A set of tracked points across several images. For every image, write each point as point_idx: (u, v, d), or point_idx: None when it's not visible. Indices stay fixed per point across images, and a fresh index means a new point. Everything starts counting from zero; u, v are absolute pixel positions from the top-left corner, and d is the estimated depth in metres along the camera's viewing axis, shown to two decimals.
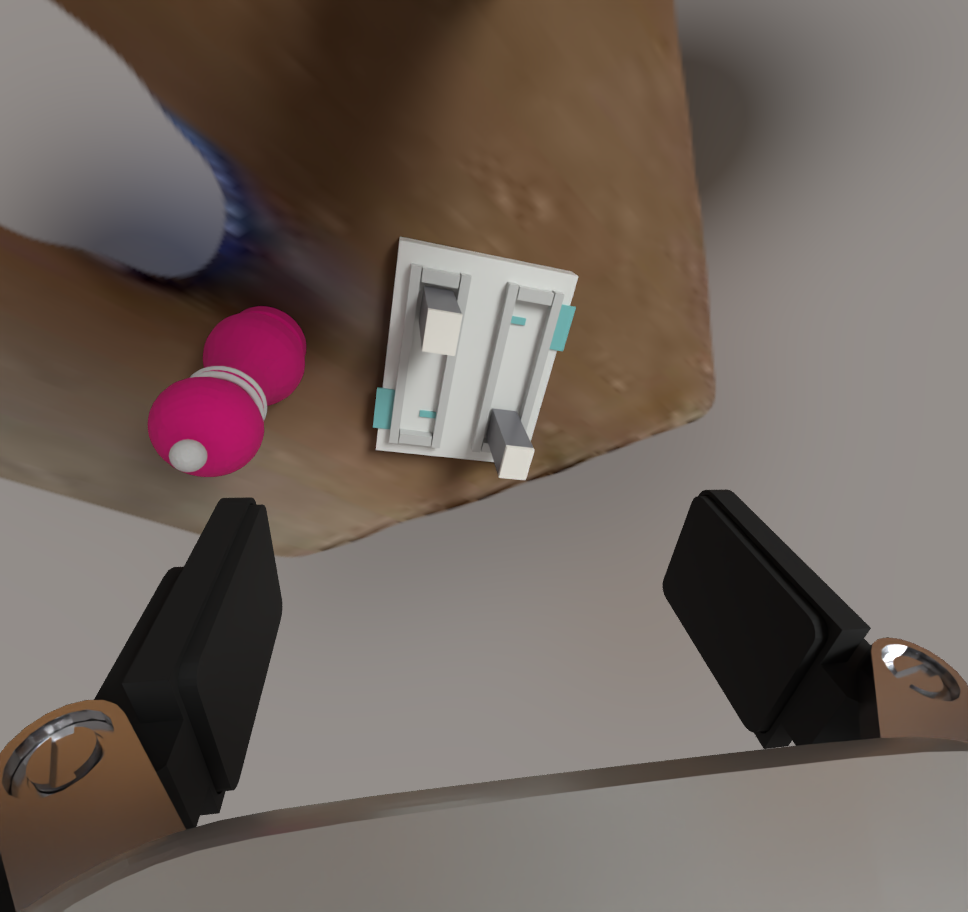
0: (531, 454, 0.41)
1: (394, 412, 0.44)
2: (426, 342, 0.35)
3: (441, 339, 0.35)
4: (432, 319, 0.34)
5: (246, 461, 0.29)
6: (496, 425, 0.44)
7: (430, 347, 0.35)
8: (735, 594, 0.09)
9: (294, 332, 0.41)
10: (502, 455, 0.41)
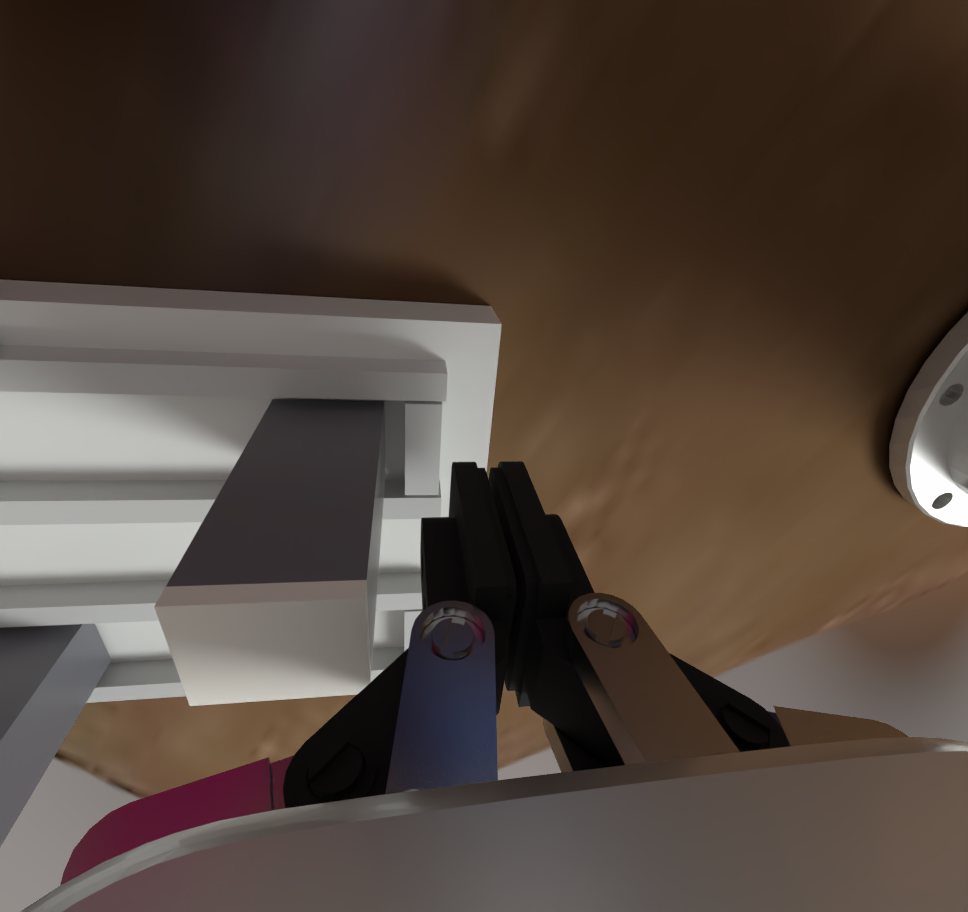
0: None
1: None
2: (206, 615, 0.07)
3: (245, 657, 0.08)
4: (324, 617, 0.08)
5: None
6: (21, 690, 0.14)
7: (189, 631, 0.07)
8: None
9: None
10: None
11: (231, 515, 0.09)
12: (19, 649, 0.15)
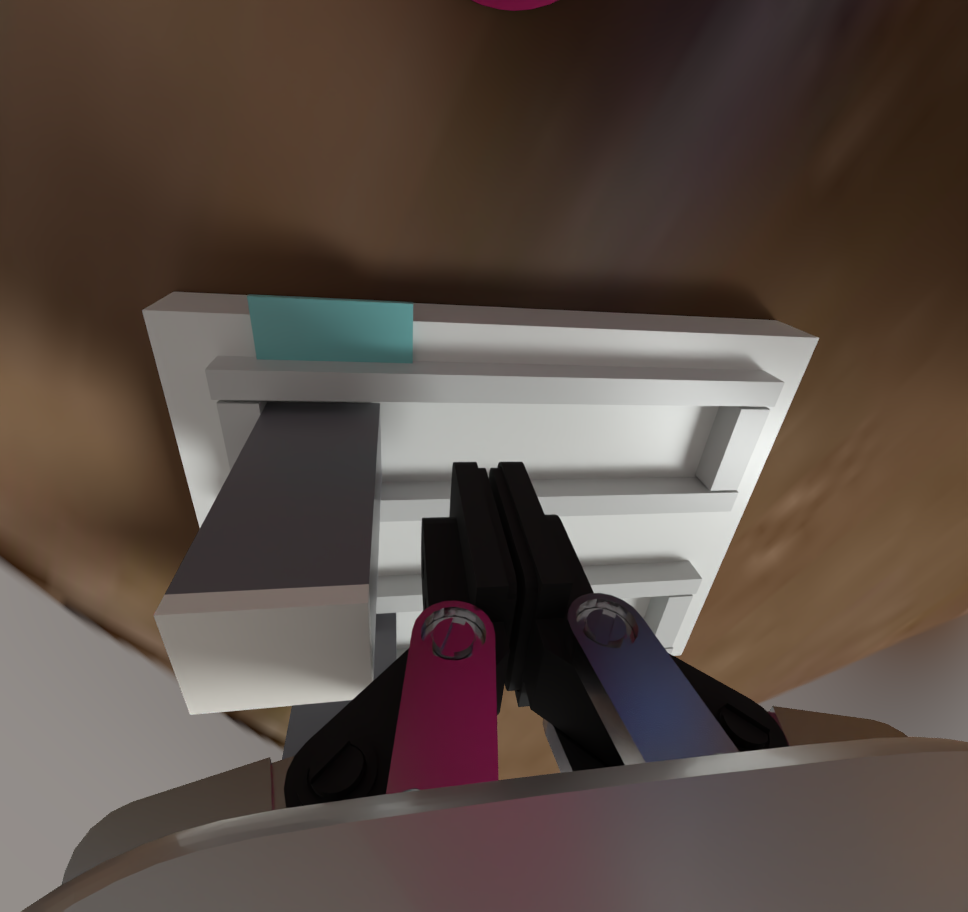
0: None
1: (342, 378, 0.12)
2: (207, 623, 0.07)
3: (246, 664, 0.08)
4: (327, 622, 0.08)
5: None
6: (383, 670, 0.15)
7: (190, 639, 0.07)
8: None
9: None
10: None
11: (229, 520, 0.09)
12: None
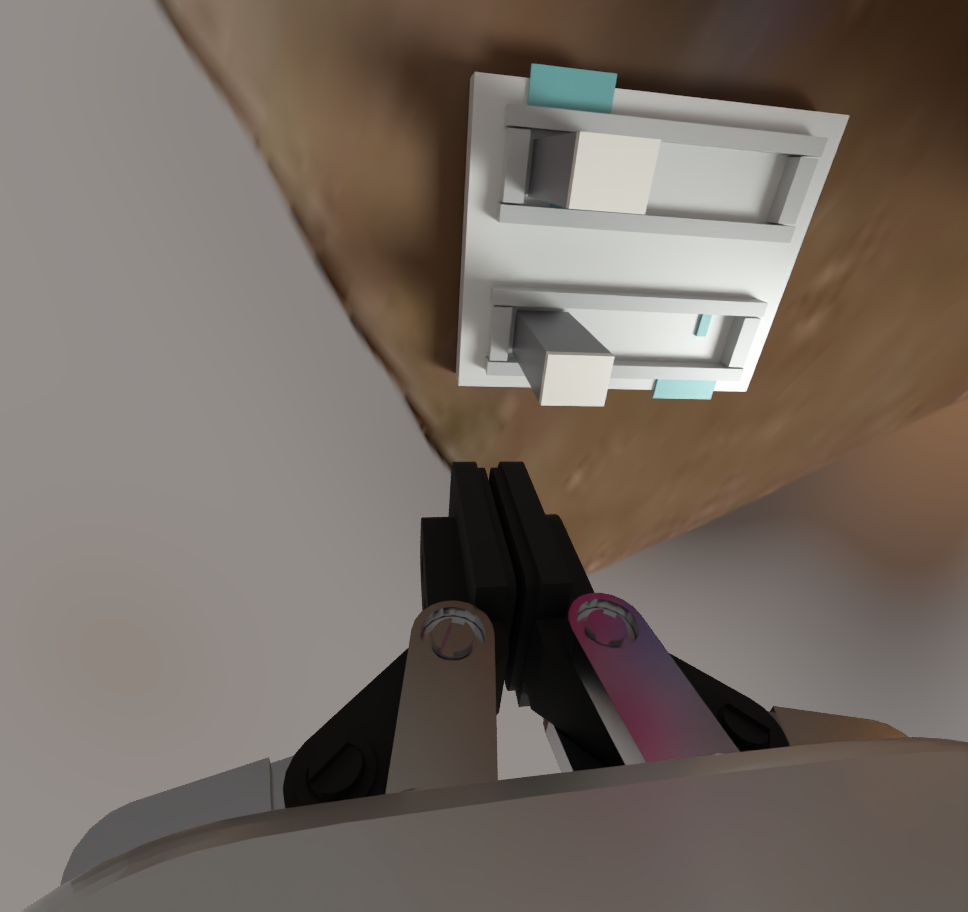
0: (596, 403, 0.22)
1: (578, 114, 0.22)
2: (597, 140, 0.17)
3: (602, 174, 0.18)
4: (641, 150, 0.17)
5: None
6: (575, 325, 0.25)
7: (587, 151, 0.17)
8: None
9: None
10: (587, 351, 0.22)
11: None
12: (552, 317, 0.26)
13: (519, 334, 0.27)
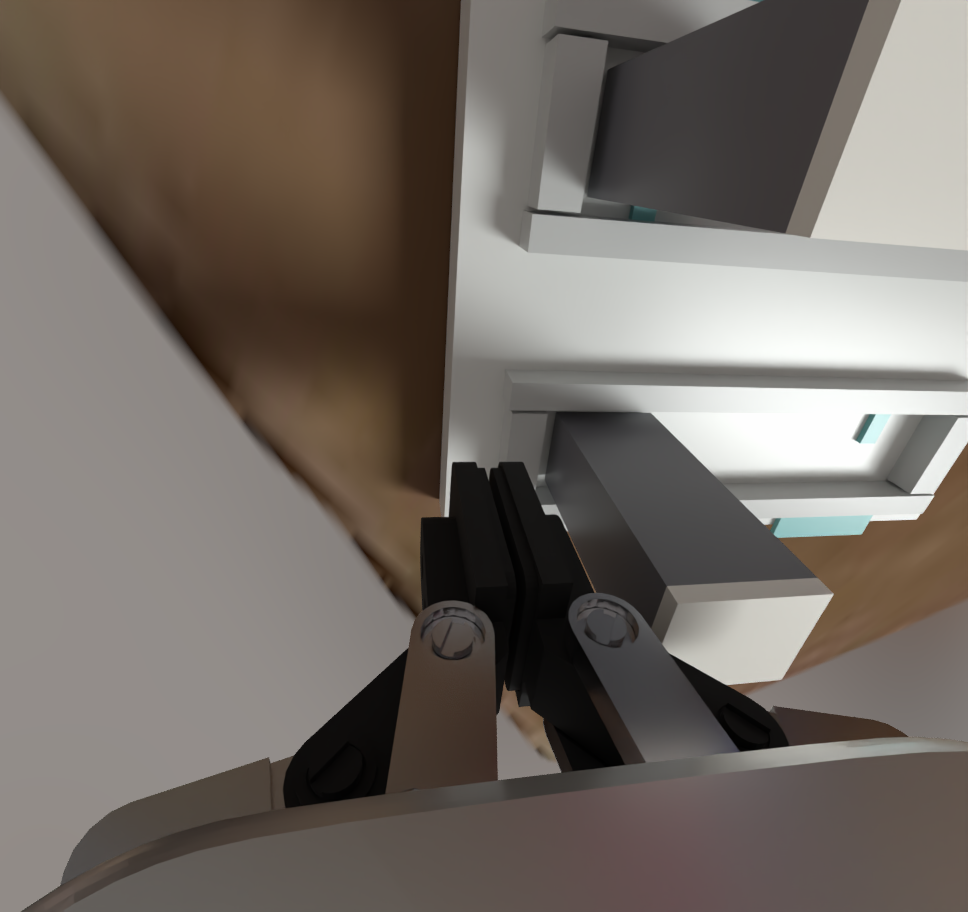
0: (766, 676, 0.10)
1: (719, 6, 0.09)
2: None
3: (952, 118, 0.05)
4: None
5: None
6: (683, 459, 0.13)
7: (929, 19, 0.04)
8: None
9: None
10: (762, 575, 0.09)
11: None
12: (628, 433, 0.14)
13: (565, 465, 0.14)
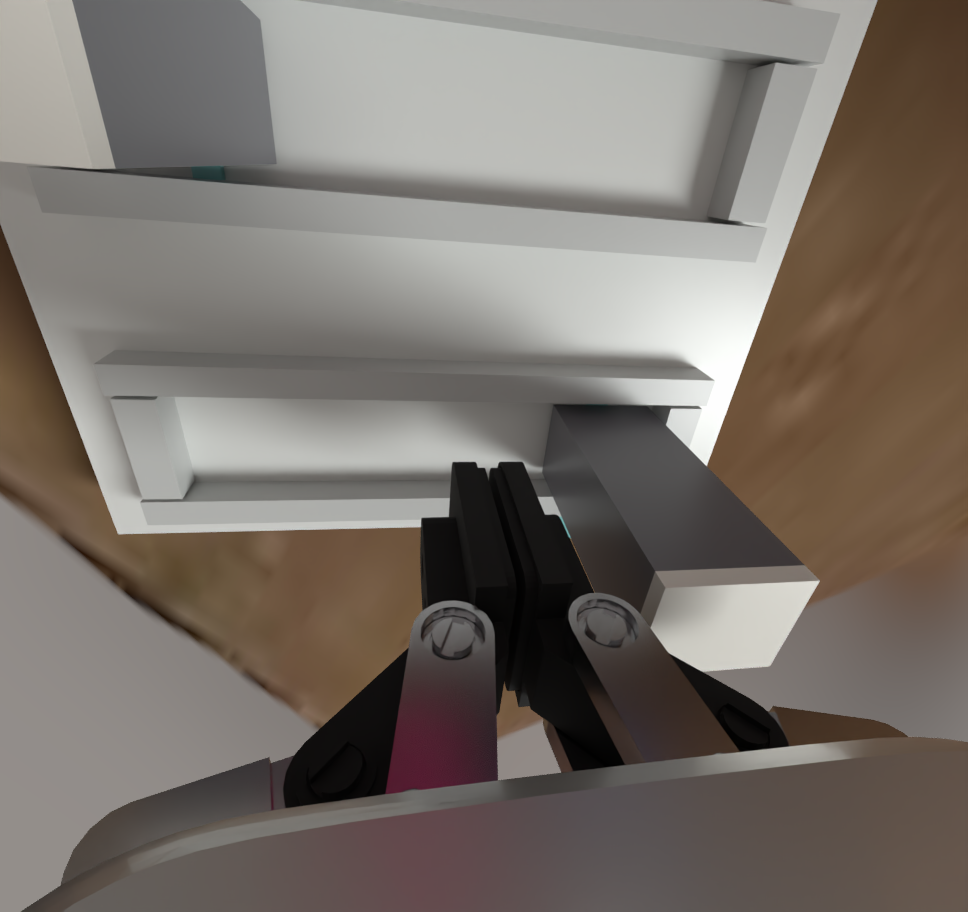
0: (755, 663, 0.10)
1: None
2: None
3: None
4: None
5: None
6: (677, 451, 0.13)
7: None
8: None
9: None
10: (750, 562, 0.09)
11: None
12: (624, 425, 0.14)
13: (561, 456, 0.14)
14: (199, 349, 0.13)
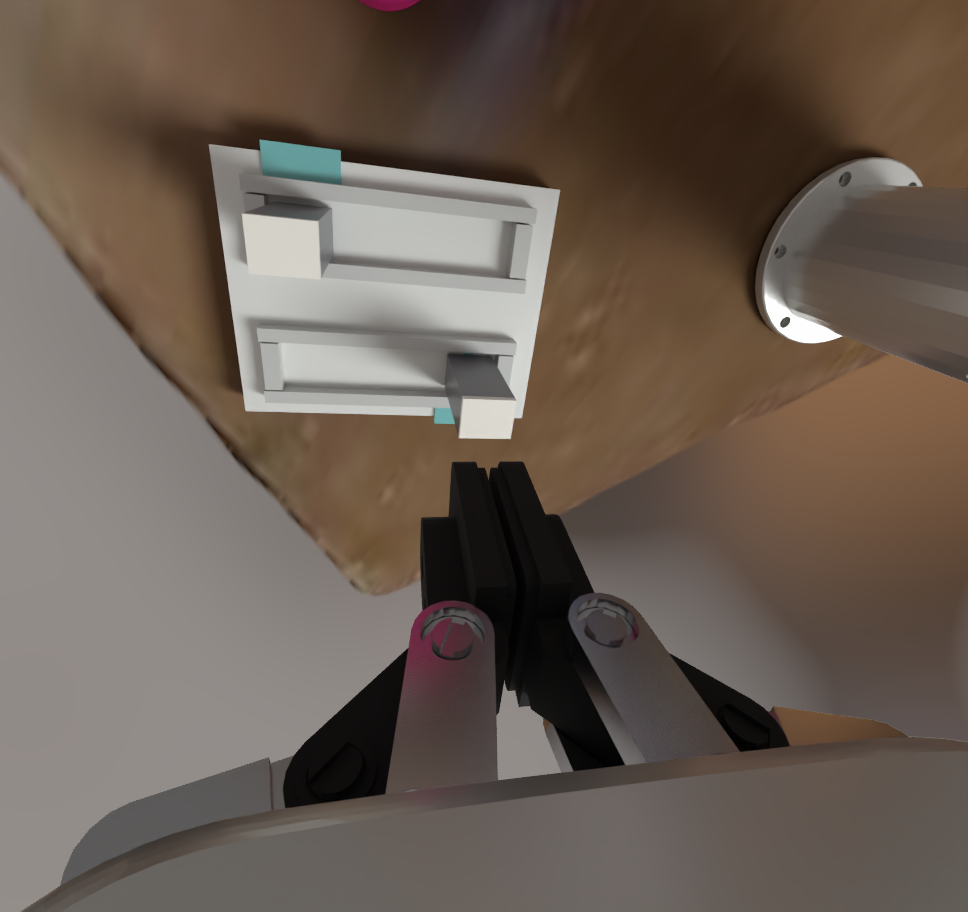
0: (504, 436, 0.28)
1: (305, 184, 0.26)
2: (259, 221, 0.21)
3: (272, 247, 0.21)
4: (302, 229, 0.21)
5: None
6: (493, 370, 0.31)
7: (252, 228, 0.21)
8: None
9: None
10: (496, 396, 0.27)
11: (263, 210, 0.22)
12: (475, 361, 0.32)
13: (448, 375, 0.32)
14: (295, 324, 0.30)
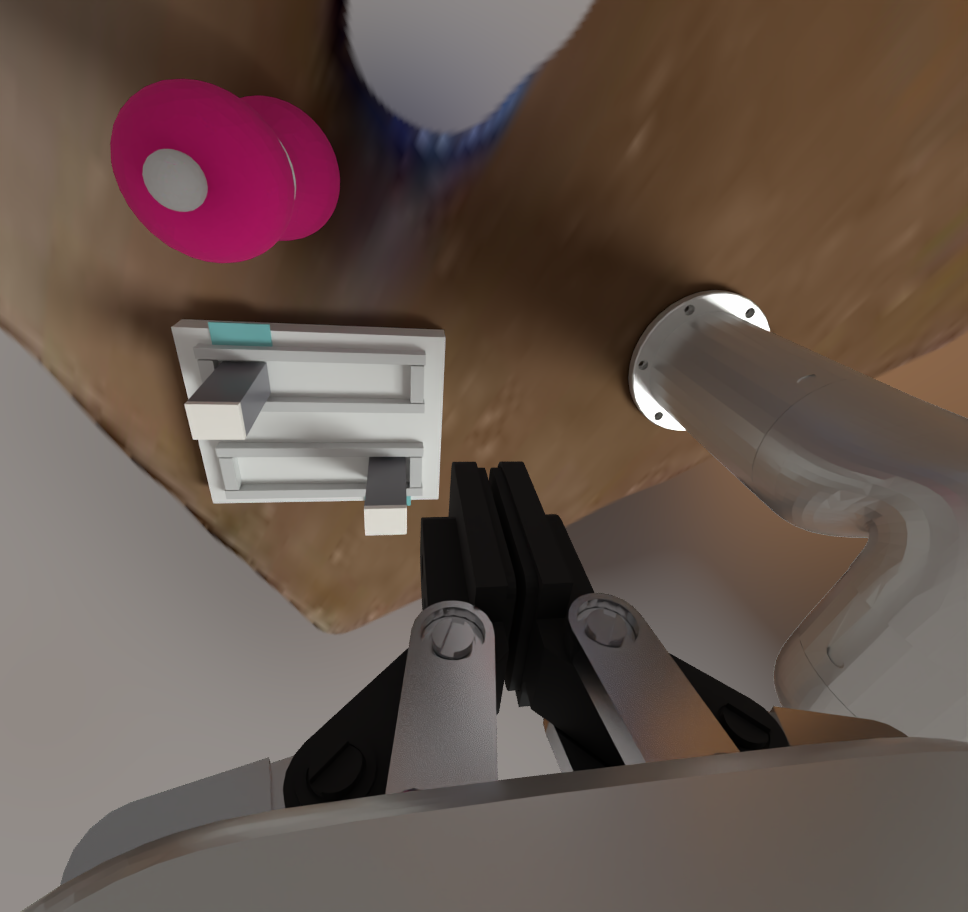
0: (401, 532, 0.36)
1: (242, 351, 0.34)
2: (197, 407, 0.29)
3: (207, 422, 0.30)
4: (228, 410, 0.30)
5: (171, 246, 0.18)
6: (400, 473, 0.39)
7: (193, 412, 0.29)
8: None
9: None
10: (391, 504, 0.36)
11: (204, 389, 0.31)
12: (389, 464, 0.40)
13: None
14: (246, 441, 0.39)
